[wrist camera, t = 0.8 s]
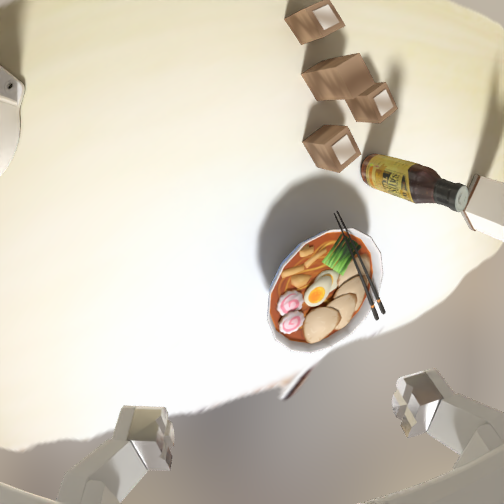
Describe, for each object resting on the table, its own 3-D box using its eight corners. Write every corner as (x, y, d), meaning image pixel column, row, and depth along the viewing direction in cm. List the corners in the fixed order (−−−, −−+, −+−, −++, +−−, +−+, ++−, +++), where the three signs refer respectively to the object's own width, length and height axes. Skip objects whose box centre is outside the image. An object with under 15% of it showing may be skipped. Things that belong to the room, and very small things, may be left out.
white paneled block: (302, 141, 47) (324, 144, 42) (325, 124, 48) (349, 125, 42) (316, 167, 50) (340, 173, 45) (338, 149, 50) (363, 153, 45)
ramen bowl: (219, 266, 50) (236, 290, 43) (331, 183, 52) (363, 193, 45) (286, 353, 62) (306, 379, 55) (371, 283, 65) (397, 301, 58)
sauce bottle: (353, 166, 52) (446, 191, 35) (375, 146, 53) (467, 165, 36) (367, 194, 56) (455, 227, 39) (388, 174, 56) (475, 201, 39)
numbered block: (283, 19, 39) (305, 8, 33) (307, 8, 39) (329, -3, 34) (301, 44, 41) (323, 37, 36) (323, 32, 42) (347, 25, 36)
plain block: (300, 74, 43) (335, 67, 35) (322, 60, 43) (359, 52, 36) (316, 100, 46) (353, 98, 38) (337, 86, 46) (375, 83, 38)
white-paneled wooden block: (343, 96, 47) (367, 95, 42) (362, 83, 47) (387, 81, 42) (356, 121, 50) (380, 123, 44) (374, 107, 50) (399, 108, 45)
